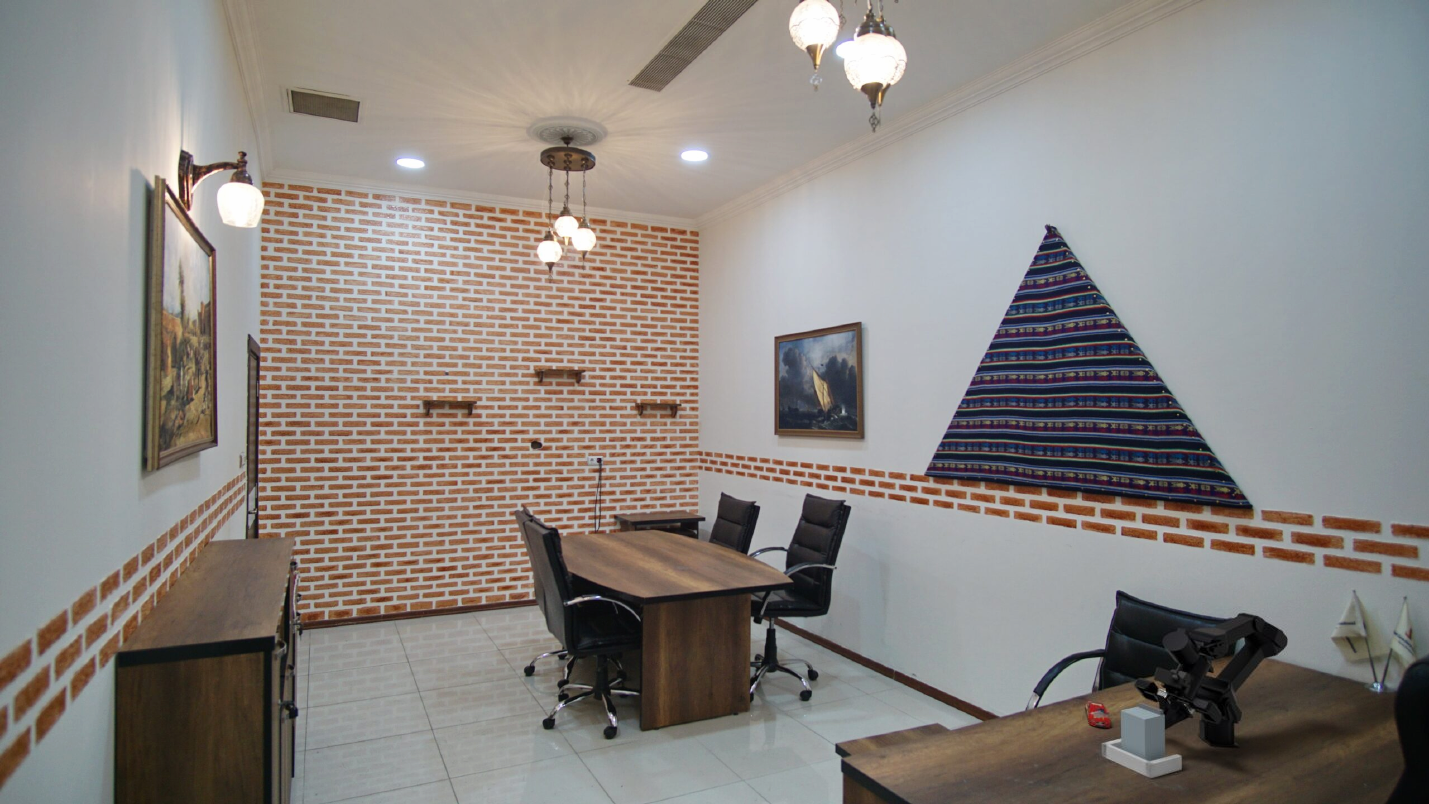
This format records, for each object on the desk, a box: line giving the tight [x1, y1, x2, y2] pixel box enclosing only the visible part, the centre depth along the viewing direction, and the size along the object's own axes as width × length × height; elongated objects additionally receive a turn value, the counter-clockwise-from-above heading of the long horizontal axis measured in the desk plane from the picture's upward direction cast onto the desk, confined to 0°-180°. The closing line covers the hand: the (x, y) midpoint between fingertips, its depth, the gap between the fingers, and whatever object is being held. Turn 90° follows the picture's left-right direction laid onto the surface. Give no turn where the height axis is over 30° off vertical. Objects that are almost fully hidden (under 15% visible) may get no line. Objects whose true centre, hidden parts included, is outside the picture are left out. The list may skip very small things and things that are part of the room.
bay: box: [1101, 738, 1183, 779], centre depth 177 cm, size 11×12×3 cm
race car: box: [1084, 701, 1111, 728], centre depth 203 cm, size 13×5×4 cm, turn 158°
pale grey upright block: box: [1120, 702, 1166, 761], centre depth 178 cm, size 7×6×12 cm
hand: (1160, 729), depth 181 cm, fingers closed
